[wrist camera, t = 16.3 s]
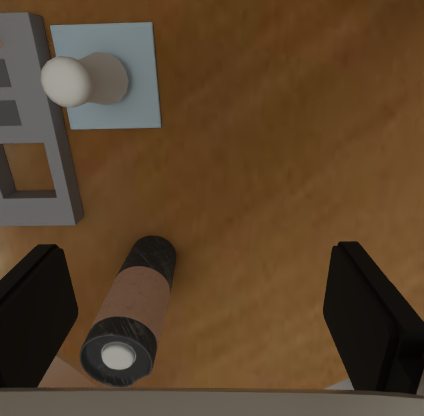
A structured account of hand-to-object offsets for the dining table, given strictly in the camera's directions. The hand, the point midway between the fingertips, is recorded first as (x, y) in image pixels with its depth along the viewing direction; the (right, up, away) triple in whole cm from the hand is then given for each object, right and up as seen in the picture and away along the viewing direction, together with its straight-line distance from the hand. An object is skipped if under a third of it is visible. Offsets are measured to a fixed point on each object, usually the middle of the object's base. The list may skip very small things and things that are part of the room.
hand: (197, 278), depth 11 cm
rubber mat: (-12, +19, +28) cm, 36 cm away
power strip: (-25, +13, +31) cm, 42 cm away
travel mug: (-9, -5, +39) cm, 40 cm away
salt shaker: (-12, +19, +28) cm, 36 cm away
